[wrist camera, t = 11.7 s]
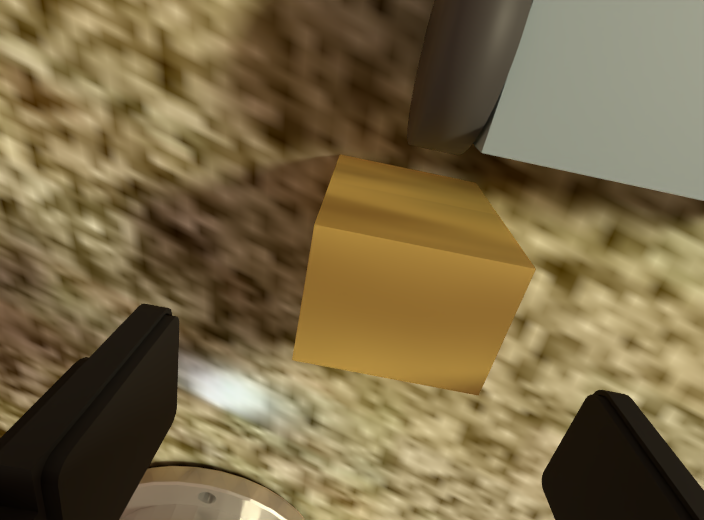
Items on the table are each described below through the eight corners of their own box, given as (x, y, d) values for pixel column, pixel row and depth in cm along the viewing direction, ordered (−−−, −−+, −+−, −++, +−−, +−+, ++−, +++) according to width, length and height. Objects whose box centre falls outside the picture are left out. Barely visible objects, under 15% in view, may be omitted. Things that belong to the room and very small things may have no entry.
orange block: (425, 327, 16) (447, 463, 11) (312, 305, 16) (280, 432, 11) (475, 181, 14) (536, 269, 8) (340, 153, 14) (314, 224, 8)
